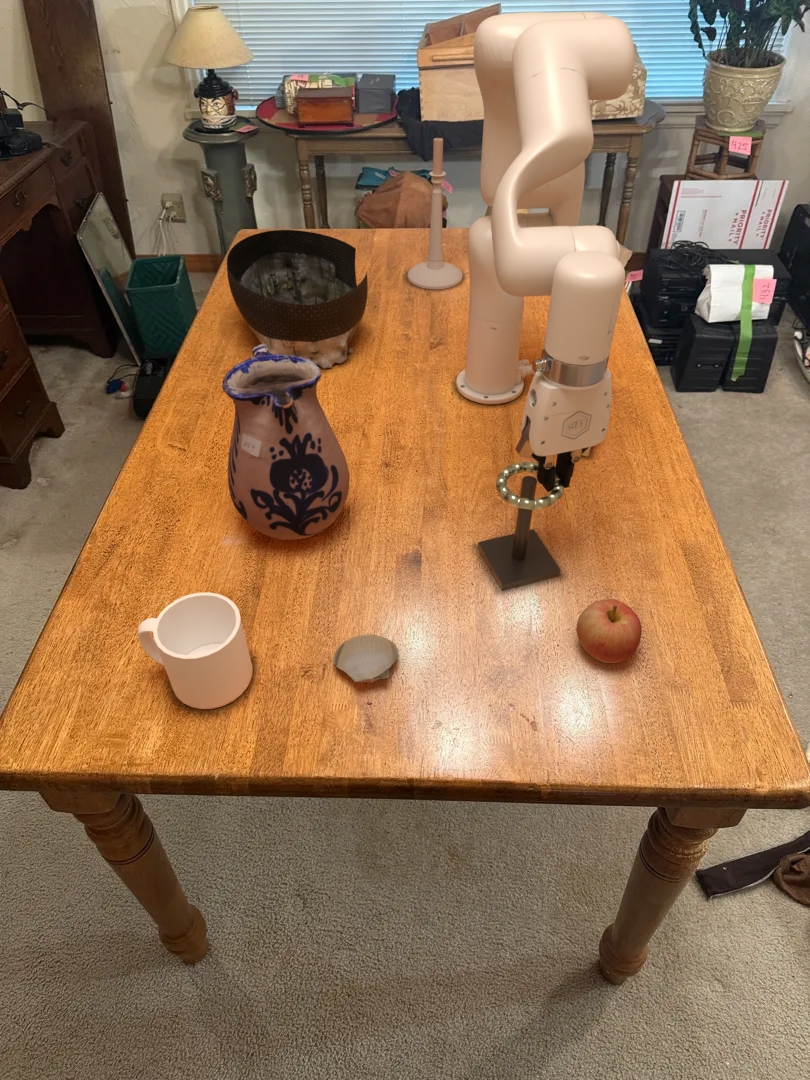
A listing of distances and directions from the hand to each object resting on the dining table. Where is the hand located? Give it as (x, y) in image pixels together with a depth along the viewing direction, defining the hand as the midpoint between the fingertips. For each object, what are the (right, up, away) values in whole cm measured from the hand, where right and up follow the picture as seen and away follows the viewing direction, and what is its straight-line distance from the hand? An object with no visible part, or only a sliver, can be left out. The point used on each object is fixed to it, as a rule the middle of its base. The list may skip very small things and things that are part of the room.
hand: (553, 482), depth 101 cm
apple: (+6, -22, -3) cm, 23 cm away
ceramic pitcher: (-38, -3, +17) cm, 41 cm away
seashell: (-25, -24, -5) cm, 35 cm away
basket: (-41, +35, +57) cm, 78 cm away
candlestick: (-13, +53, +75) cm, 93 cm away
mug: (-45, -25, -6) cm, 52 cm away
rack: (-4, -11, +9) cm, 14 cm away
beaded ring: (-3, 0, -1) cm, 4 cm away
